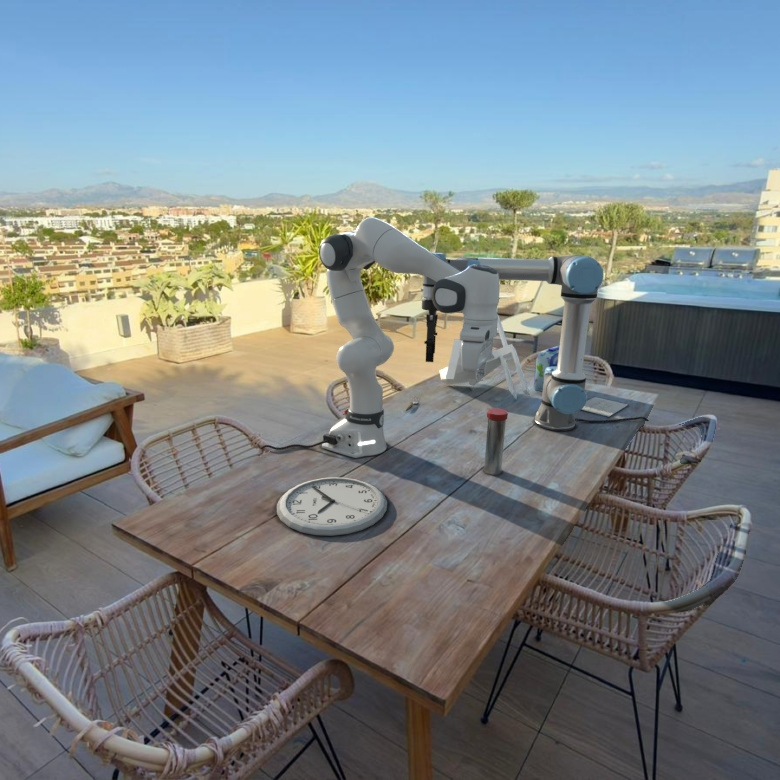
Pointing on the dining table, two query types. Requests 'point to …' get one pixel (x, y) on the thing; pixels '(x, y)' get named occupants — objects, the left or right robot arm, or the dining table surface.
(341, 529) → the wall clock
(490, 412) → the lid
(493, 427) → the jar
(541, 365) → the lunch box
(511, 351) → the white plastic object
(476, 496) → the dining table surface
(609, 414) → the invitation card
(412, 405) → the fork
